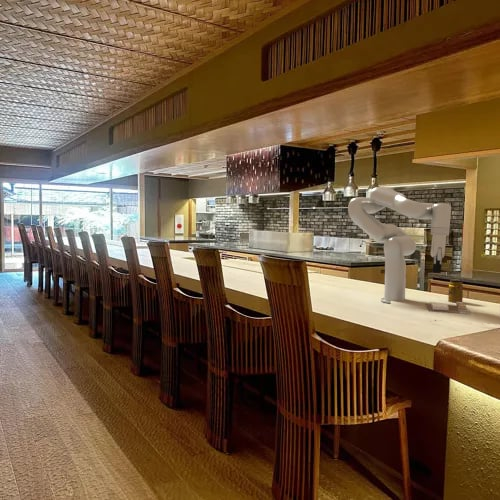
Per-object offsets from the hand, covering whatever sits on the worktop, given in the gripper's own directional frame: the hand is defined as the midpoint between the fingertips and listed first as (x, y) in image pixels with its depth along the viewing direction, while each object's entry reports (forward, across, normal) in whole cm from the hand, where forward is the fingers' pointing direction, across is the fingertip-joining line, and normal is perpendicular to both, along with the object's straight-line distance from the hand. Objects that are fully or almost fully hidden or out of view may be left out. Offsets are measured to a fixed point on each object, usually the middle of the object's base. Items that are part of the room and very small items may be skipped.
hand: (436, 272), depth 193 cm
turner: (+14, +7, +10) cm, 19 cm away
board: (+16, +7, +4) cm, 18 cm away
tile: (+14, +5, +1) cm, 15 cm away
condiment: (+16, -13, +12) cm, 24 cm away
